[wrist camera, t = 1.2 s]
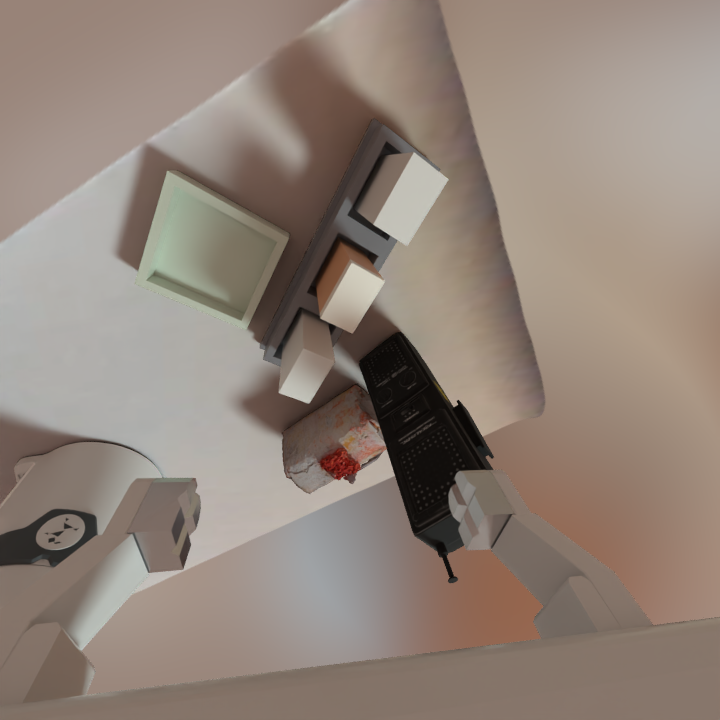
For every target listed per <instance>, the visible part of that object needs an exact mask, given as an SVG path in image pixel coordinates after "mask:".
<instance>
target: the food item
mask: <svg viewBox="0 0 720 720" xmlns="http://www.w3.org/2000/svg"><path fill="white" fill-rule="evenodd" d="M282 434H283V440H282V450H283V465H284V472H285V474H286V477H287V478H289V479H291V480H292V481H293V482H294V483H295V484H296V486H298V487H299V488H300V489H302V490H303V491H304V492H306V493H309V494H311V493H312V492H313V491H315V490H317V489H318V488H320V487H322V486H325V485H326V484H328V483H330V482H331V481H333V480H335V479H338V481H339V480H340V479H341V478H342V477H343V476H345V477H344V479H345V480H348V481H349V483H351V482H352V483H351V484H353V483H354V481H355V476H356V475H357V474H356V472H357V471H359V470H361V469H363V468H364V467H366V466H368V465H369V464H371V463H372V462H374V461H375V460H377V459H378V458H379V456H380V455H381V454H382V453H383V451H384V450H386V449H387V448H386V445H385V442H384V438H383V435H382V432H381V429H380V426H379V423H378V420H377V417H376V414H375V410H374V407H373V404H372V401H371V398H370V396H369V395H368V394H367V393H366V392H365V391H364V390H363V389H361V388H360V387H359V386H357V385H354V386H352V387H351V388H349V389H348V390H346V391H345V392H343V393H342V394H340V395H338V396H337V397H335V398H334V399H332V400H331V401H330V402H328V403H326V404H325V405H323V406H322V407H320V408H319V409H317V410H316V411H314V412H312V413H311V414H309V415H308V416H306V417H304V418H303V419H301V420H300V421H299V422H297V423H296V424H294V425H293V426H291V427H290V428H288V429H286V430H285V431H284V432H282ZM367 460H369V461H368V462H367V463H364V462H366V461H367ZM362 463H364V464H362ZM360 464H362V465H361V468H360ZM358 469H359V470H358ZM346 474H347V476H346ZM353 474H354V475H353Z"/></svg>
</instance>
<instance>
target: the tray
mask: <svg viewBox="0 0 720 720" xmlns="http://www.w3.org/2000/svg"><path fill="white" fill-rule="evenodd" d="M289 236H290V233H288V232H286V231H285V230H283V229H281V228H279V227H277V226H276V225H274V224H272V223H270V222H268V221H267V220H265V219H263V218H261V217H260V216H258V215H256V214H254V213H252V212H251V211H249V210H247V209H245V208H244V207H242V206H240V205H238V204H236V203H235V202H233V201H231V200H229V199H228V198H226V197H224V196H222V195H220V194H219V193H217V192H215V191H213V190H211V189H210V188H208V187H206V186H204V185H203V184H201V183H199V182H197V181H195V180H194V179H192V178H190V177H188V176H187V175H185V174H183V173H181V172H179V171H178V170H171V171H167V173H166V177H165V180H164V184H163V187H162V191H161V194H160V197H159V201H158V204H157V208H156V211H155V215H154V218H153V222H152V225H151V228H150V232H149V235H148V239H147V242H146V246H145V249H144V253H143V256H142V260H141V263H140V266H139V270H138V273H137V277H136V280H135V284H136V285H138V286H141V287H143V288H146V289H148V290H150V291H153V292H155V293H158V294H160V295H162V296H165V297H167V298H170V299H172V300H174V301H177V302H179V303H182V304H184V305H187V306H189V307H191V308H194V309H196V310H199V311H201V312H203V313H206V314H208V315H211V316H213V317H215V318H218V319H220V320H223V321H225V322H227V323H230V324H232V325H235V326H237V327H239V328H242V329H244V330H247V327H248V325H249V323H250V321H251V319H252V317H253V315H254V312H255V310H256V308H257V306H258V304H259V302H260V300H261V297H262V295H263V293H264V291H265V289H266V287H267V285H268V282H269V280H270V278H271V276H272V274H273V272H274V270H275V267H276V265H277V263H278V261H279V259H280V257H281V255H282V252H283V250H284V248H285V246H286V244H287V242H288V240H289Z"/></svg>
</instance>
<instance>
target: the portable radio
mask: <svg viewBox="0 0 720 720" xmlns="http://www.w3.org/2000/svg"><path fill="white" fill-rule="evenodd" d="M359 366H360V369H361V372H362V375H363V377H364V380H365V383H366V386H367V389H368V392H369V395H370V398H371V401H372V404H373V407H374V410H375V414H376V417H377V420H378V423H379V426H380V429H381V432H382V435H383V438H384V442H385V445H386V448H387V451H388V454H389V458H390V461H391V464H392V467H393V470H394V474H395V477H396V480H397V483H398V486H399V490H400V493H401V496H402V499H403V502H404V506H405V509H406V512H407V515H408V518H409V521H410V525H411V528H412V531H413V533H414V535H415V537H417V538H418V539H420V540H421V541H423V542H424V543H426V544H427V545H429V546H430V547H431V548H433V549H434V550H436V551H437V552H438V555H439V557H442V558H443V561H444V563H445V566H446V569H447V572H448V575H449V577H450V578H449V580H448V582H449V583H454V582H456V581H457V580H458V578H457V577H454V575H453V572H452V570H451V567H450V564H449V562H448V559H447V555H448V553H450V552H453V551H455V550H456V549H458V548H460V547H462V546H464V543H463V541H462V538H461V536H460V533H459V531H458V528H459V525H460V522H458V521H457V520H456V519H455V518H454V517H453V515H452V513H451V510H450V506H449V491H450V489H451V487H452V486H453V485H455V484H456V481H455V476H456V474H457V473H458V472H459V471H470V470H493V468H492V467H491V465H490V464H489V462H488V461H487V459H486V456H487V455H489V456H490V457H491V458H493V457H494V456H493V455H492V453H491V451H490V449H489V447H488V446H487V444H486V442H485V440H484V439H483V437H482V435H481V433H480V432H479V430H478V428H477V426H476V425H475V423H474V421H473V419H472V417H471V416H470V414H469V412H468V410H467V409H466V408H465V407H464V406H463V404H462V403H461V402H460V401H459V400H458V401H457V403H458V405H457V406H456V407H453V406H452V404H451V402H450V401H449V399H448V398H447V396H446V395H445V393H444V391H443V390H442V388H441V387H440V385H439V384H438V382H437V380H436V379H435V377H434V376H433V374H432V372H431V371H430V369H429V368H428V366H427V365H426V363H425V362H424V360H423V359H422V357H421V356H420V354H419V353H418V351H417V350H416V349H415V347H414V346H413V345H412V344H411V343H410V342H409V340H408V339H407V338H406V337H405V336H404V335H403V333H401V332H400V333H396V334H394V335H393V336H392V337H390V338H389V339H388V340H386V341H385V342H384V343H382V344H381V345H380V346H378V347H377V348H376V349H374V350H373V351H372V352H371V353H369V354H368V355H367V356H366V357H364V358H363V359H362V360H360V363H359Z"/></svg>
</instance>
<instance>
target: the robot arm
mask: <svg viewBox="0 0 720 720" xmlns="http://www.w3.org/2000/svg"><path fill="white" fill-rule="evenodd" d="M14 473H15V478H16V483H17V484H16V486H15V487H14V488H13V489H12V491H11V492H10V493H9V494H8V496H7V497H6V498H5V500H4V501H3V502H2V503H1V505H0V720H720V617H715V618H708V619H700V620H691V621H683V622H675V623H667V624H659V625H653V624H652V623H651V621H650V620H649V619H648V617H647V616H646V614H645V613H644V612H643V610H642V609H641V608H640V606H639V605H638V604H637V602H636V601H635V600H634V598H633V597H632V595H631V594H630V593H629V591H628V590H627V589H626V587H625V586H624V584H623V583H622V582H621V581H620V579H619V578H618V576H617V575H616V574H615V572H614V571H612V570H611V569H610V568H608V567H607V566H606V565H604V564H603V563H602V562H600V561H599V560H598V559H596V558H595V557H593V556H592V555H590V554H589V553H588V552H587V551H585V550H584V549H583V548H581V547H580V546H579V545H577V544H576V543H574V542H573V541H572V540H571V539H569V538H568V537H567V536H565V535H564V534H562V533H561V532H560V531H558V530H557V529H556V528H554V527H553V526H552V525H550V524H549V523H548V522H546V521H545V520H543V519H542V518H541V517H540V516H538V515H537V514H531V512H530V510H529V509H528V507H527V506H526V504H525V503H524V501H523V500H522V498H521V496H520V495H519V493H518V491H517V490H516V488H515V487H514V485H513V484H512V482H511V480H510V479H509V477H508V476H507V474H506V473H505V472H504V471H503V470H470V471H459V472H458V473H457V474H456V476H455V481H456V484H455V485H453V486H452V487H451V489H450V491H449V506H450V510H451V513H452V515H453V517H454V518H455V519H456V520H457V521H458V522H460V525H459V528H458V531H459V533H460V536H461V538H462V541H463V543H464V545H465V548H466V550H484V549H492V550H491V551H492V552H493V553H494V554H495V555H496V556H497V557H498V558H499V559H500V560H501V562H502V563H503V564H504V565H505V566H506V567H507V568H508V569H509V570H510V571H511V572H512V573H513V574H514V575H515V576H516V578H517V579H518V580H519V581H520V582H521V583H522V584H523V585H524V586H525V587H526V588H527V589H528V590H529V591H530V592H531V593H532V595H534V597H535V598H536V599H537V600H538V601H539V602H540V603H541V604H542V605H543V606H544V607H543V608H542V609H541V610H540V611H539V613H538V614H537V615H536V616H535V619H534V621H533V622H534V624H535V626H536V628H537V630H538V633H539V635H540V637H541V639H537V640H529V641H521V642H513V643H504V644H496V645H488V646H480V647H472V648H464V649H456V650H448V651H439V652H431V653H423V654H415V655H407V656H399V657H391V658H383V659H375V660H366V661H359V662H350V663H343V664H334V665H327V666H318V667H310V668H301V669H294V670H286V671H278V672H269V673H261V674H253V675H245V676H237V677H229V678H220V679H212V680H204V681H196V682H189V683H180V684H172V685H164V686H156V687H148V688H140V689H131V690H124V691H115V692H107V693H99V694H91V695H86V694H87V691H88V689H89V686H90V684H91V681H92V679H93V677H94V674H95V669H94V666H93V665H92V663H91V662H90V661H89V660H88V658H87V657H86V656H85V655H84V654H83V652H82V649H83V648H84V647H85V646H86V645H87V644H88V643H89V642H90V640H91V639H92V638H93V637H94V636H95V635H96V634H97V632H98V631H99V630H100V629H101V628H102V627H103V626H104V625H105V624H106V622H107V621H108V620H109V619H110V618H111V617H112V616H113V615H114V614H115V612H116V611H117V610H118V609H119V608H120V607H121V605H122V604H123V603H124V602H125V601H126V600H127V599H128V598H129V597H130V596H131V594H132V593H133V592H134V591H135V590H136V589H137V588H138V587H139V585H140V584H141V583H142V582H143V581H144V580H145V579H146V578H147V577H148V575H149V573H152V572H162V571H173V570H183V568H184V565H185V562H186V559H187V556H188V553H189V550H190V546H191V543H190V539H189V535H190V534H191V533H193V532H194V531H195V530H196V527H197V524H198V521H199V515H200V509H201V501H200V496H199V495H198V494H197V493H195V491H196V488H197V482H196V478H163V477H162V476H161V474H160V472H159V470H158V469H157V468H156V466H155V465H154V464H153V463H152V462H150V461H149V460H148V459H147V458H145V457H144V456H142V455H140V454H138V453H137V452H134V451H132V450H130V449H127V448H124V447H121V446H118V445H113V444H108V443H100V442H80V443H73V444H69V445H65V446H62V447H59V448H57V449H55V450H53V451H51V452H49V453H47V454H44V455H39V456H31V457H26V458H22V459H20V460H19V461H18V463H17V464H16V465H15V467H14Z"/></svg>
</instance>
